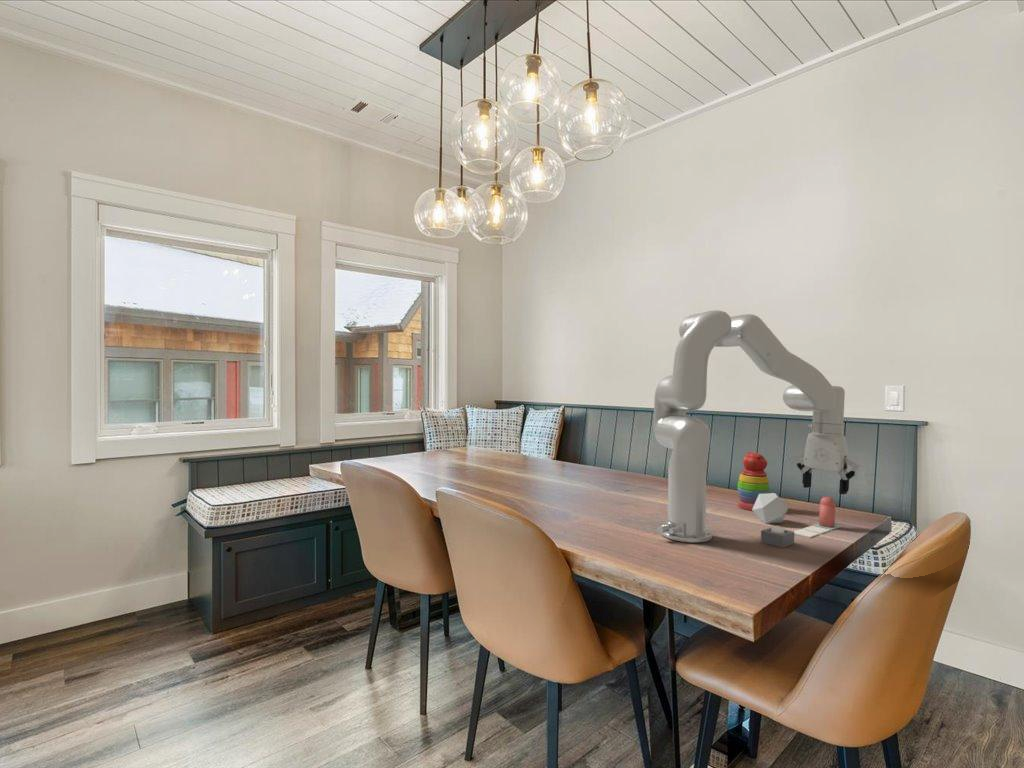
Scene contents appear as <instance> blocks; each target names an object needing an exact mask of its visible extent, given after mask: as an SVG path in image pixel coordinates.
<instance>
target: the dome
mask: <svg viewBox="0 0 1024 768" xmlns="http://www.w3.org/2000/svg"><path fill="white" fill-rule="evenodd" d="M771 527H772V529H771V532H774V533H778V534H784V533H785V531H784V530H785V529H784V528H783V527H782V526H780V525H774V526H771Z"/></svg>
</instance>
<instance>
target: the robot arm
mask: <svg viewBox="0 0 1024 768" xmlns="http://www.w3.org/2000/svg"><path fill="white" fill-rule="evenodd" d="M678 333H679V336H680V339H679V341H678V343H677V346H676V348H675V353H674V358H673V368H672V370H673V371H672V374H671V375H668V376H665V377H663V378H662V379H661V380H660V381H659V382H658V383H657V386H656V388H655V392H654V399H653V400H654V402H653V434H654V438H655V440H656V441H657V443H658V444H659V445H661V446H663V447H665V448H667V449H671V450H672V451H671V455H670V457H669V460H668V461H669V462H668V471H667V474H668V480H667V484H668V486H667V489H668V490H667V491H668V492H667V493H668V495H667V496H668V497H667V503H668V504H667V518H666V519H665V523H664V524H661V525H658V526H657V527H656V531H657V532H658V534H661V535H662V536H664V537H665V538H667V539H669V540H673V541H677V542H683V543H692V544H693V543H705V542H709V541H711V540H712V538H713V534H712V532H711V531H710V530H708V529H707V526H706V525H707V524H706V522H707V519H706V518H707V461H708V460H707V459H708V453H709V451H710V450H709V449H710V444H711V432H710V429H709V427H708V425H707V424H706V423H705V421H703V420H702V419H700V418H698V417H695V416H689V415H687V412H692V411H693V412H696V411H698V410H700V409H701V408H703V406H704V405H705V403H706V399H707V386H708V383H707V382H708V362H709V357H710V355H711V353H712V351H713V349H714V348H715V347H716V348H718V347H719V348H725V347H726V348H728V347H729V348H731V347H733V348H734V347H739V348H741V350H742V351H744V352H745V354H746V355H747V356H748V357H749V358H750V360H751V361H752V362H753V363H754V364H755V366H757V368H758V369H759V370H760V371H761V372H763V373H764V374H767V375H769V376H771V377H774V378H776V379H779V380H782V381H785V382H786V383H789V384H790V386H788V387H786V389H785V390H784V392H783V393H782V400H783V403H784V404H785V405H786V406H787V407H788V408H789V409H792V410H794V411H802V412H812V422H811V423H808V424H807V429H809V430H811V432H809V433H808V435H807V437H806V438H807V439H806V443H805V447H804V452H803V453H800V454H797V455H795V456H793V458H794V462H795V464H796V467H797V468H798V469H799V470H800V473H801V474H802V484H803V485H802V487H803V488H805V489H807V488H811V487H812V475H813V474H812V473H811V471H812V470H818V471H826V472H831V473H837V474H838V475H839V476H840V478H841V479H839V489H838V490H839V491H838V493H839V494H840V495H846V494H848V492H849V490H850V480H851V479H852V478H853V477H855V476H856V475H857V473H858V472H859V471H860V469H861V467H862V466H861V465H860V464H859V463H857V461H854V460H853V459H852V458H849V457H848V455H849V454H848V444H847V437H846V436H845V435H844V421H845V420H844V417H845V415H844V414H845V401H846V400H845V396H846V392H845V389H844V387H842V386H838V385H832V384H831V383H830V381H829V380H828V379H827V378H826V376H825V375H824V374H823V373H822V372H821V371H819V370H818V368H816V367H815V366H813V365H812V364H810V363H808V361H805V360H804V359H802V358H801V357H799V356H797V355H795V354H794V353H792V352H790V351H789V350H788V349H787V348H786V347H785V345H784V344H783V343H782V342H781V341H780V340H779V338H778V337H777V336H776V335H775V334H774V333H773V331H772V330H771V329H770V328H769V327H768V325H767V324H766V323H765V322H764V321H763V319H761V318H760V317H759V316H757V315H755V314H751V313H749V314H746V313H745V314H740V315H739V314H738V315H735V316H730V315H729V314H728V313H727V312H725V311H723V310H715V309H714V310H708V311H703V312H699V313H694V314H690V315H688V316H686V317H685V318H684V319H682V321H681V322H680V323H679V327H678ZM849 466H850V467H851V469H850V471H847V469H848V467H849Z"/></svg>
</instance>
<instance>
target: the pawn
mask: <svg viewBox="0 0 1024 768" xmlns="http://www.w3.org/2000/svg"><path fill="white" fill-rule="evenodd" d="M818 515H819V519H818V523H819V525H820V526H823V527H829V528H833V527H835V525H836V502H835V500H834V498H832V497H831V496H824V497H822V498H821V499H820V502H819V514H818Z"/></svg>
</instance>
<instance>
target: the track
mask: <svg viewBox="0 0 1024 768" xmlns="http://www.w3.org/2000/svg"><path fill="white" fill-rule="evenodd" d="M830 531H831V530H829V529H824V528H820V527H815V526H813V525H810V526H806V527H803V528H802V529H801V528H799V529H797V530H793V531H792V532H794V535H797V536H801V537H805V538H813V537H816V536H819V535H822V534H825V533H829V532H830Z"/></svg>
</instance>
